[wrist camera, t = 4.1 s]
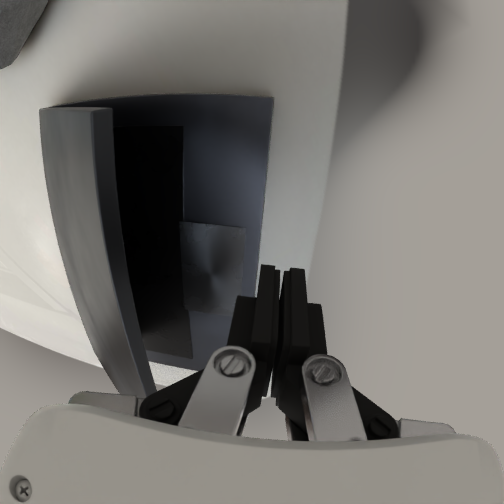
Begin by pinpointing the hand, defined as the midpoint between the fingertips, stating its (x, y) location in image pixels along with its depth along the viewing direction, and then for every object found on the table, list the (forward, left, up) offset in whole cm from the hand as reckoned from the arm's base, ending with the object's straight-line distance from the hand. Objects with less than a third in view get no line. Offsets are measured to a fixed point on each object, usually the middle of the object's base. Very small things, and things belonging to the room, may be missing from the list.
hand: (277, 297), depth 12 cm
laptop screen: (+13, -1, -4) cm, 14 cm away
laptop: (+11, 0, -11) cm, 16 cm away
